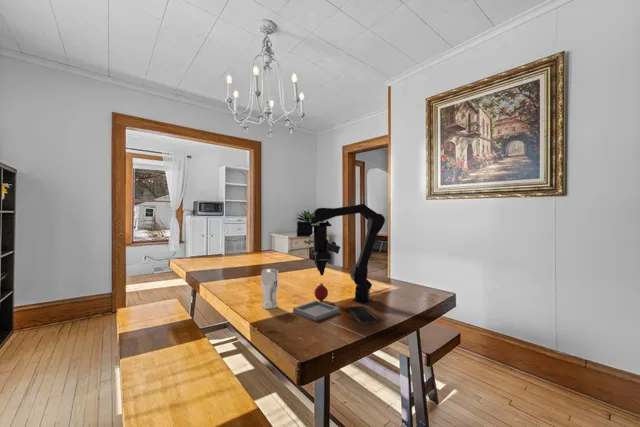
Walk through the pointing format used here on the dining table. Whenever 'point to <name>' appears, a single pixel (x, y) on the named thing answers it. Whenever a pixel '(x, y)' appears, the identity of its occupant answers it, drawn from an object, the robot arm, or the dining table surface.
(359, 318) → the phone
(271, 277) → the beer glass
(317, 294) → the onion
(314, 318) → the tray
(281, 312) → the dining table surface
